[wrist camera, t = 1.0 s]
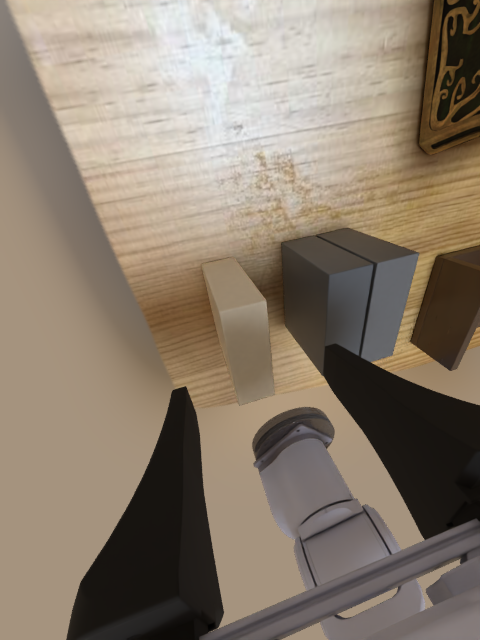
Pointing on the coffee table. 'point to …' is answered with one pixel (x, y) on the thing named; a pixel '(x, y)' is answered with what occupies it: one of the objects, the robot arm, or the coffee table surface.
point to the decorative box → (452, 76)
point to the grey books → (345, 293)
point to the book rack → (450, 308)
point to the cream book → (241, 329)
